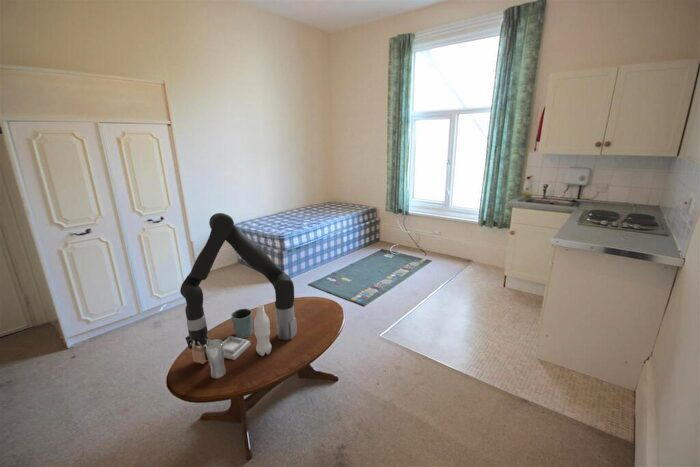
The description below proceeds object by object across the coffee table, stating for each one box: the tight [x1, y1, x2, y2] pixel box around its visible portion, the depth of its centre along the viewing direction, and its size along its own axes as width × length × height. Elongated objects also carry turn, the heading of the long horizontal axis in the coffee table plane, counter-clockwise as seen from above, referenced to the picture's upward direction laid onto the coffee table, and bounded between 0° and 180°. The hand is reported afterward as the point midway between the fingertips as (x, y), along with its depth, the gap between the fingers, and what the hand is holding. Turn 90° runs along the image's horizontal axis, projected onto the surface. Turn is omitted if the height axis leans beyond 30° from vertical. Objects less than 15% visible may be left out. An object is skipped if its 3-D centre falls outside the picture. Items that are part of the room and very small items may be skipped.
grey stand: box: [222, 335, 251, 361], centre depth 154 cm, size 12×12×4 cm
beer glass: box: [206, 338, 227, 379], centre depth 136 cm, size 7×7×15 cm
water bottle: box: [253, 303, 272, 357], centre depth 148 cm, size 7×7×25 cm
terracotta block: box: [191, 344, 208, 365], centre depth 144 cm, size 6×6×6 cm
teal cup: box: [230, 308, 254, 339], centre depth 165 cm, size 10×10×12 cm
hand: (202, 357), depth 145 cm, fingers closed on terracotta block, 5 cm apart
